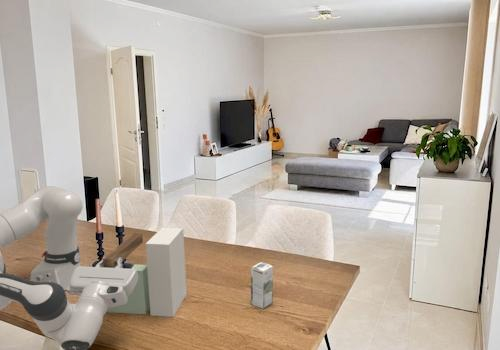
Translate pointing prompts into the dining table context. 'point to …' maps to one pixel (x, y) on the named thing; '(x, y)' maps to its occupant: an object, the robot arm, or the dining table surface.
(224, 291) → the dining table surface
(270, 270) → the syrup box
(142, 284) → the sage notched plate
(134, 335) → the dining table surface
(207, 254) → the dining table surface
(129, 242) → the walnut bar
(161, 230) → the white stand
